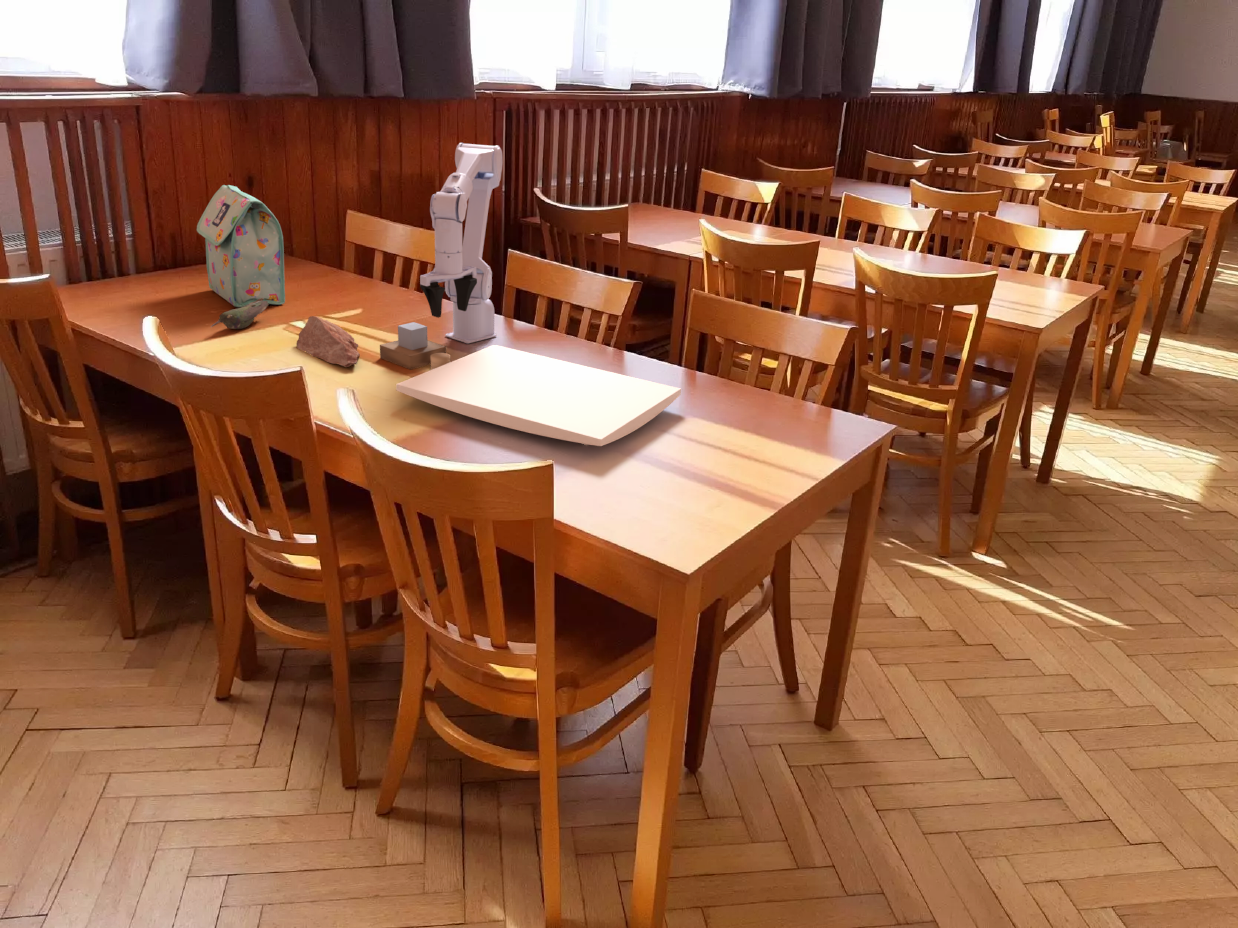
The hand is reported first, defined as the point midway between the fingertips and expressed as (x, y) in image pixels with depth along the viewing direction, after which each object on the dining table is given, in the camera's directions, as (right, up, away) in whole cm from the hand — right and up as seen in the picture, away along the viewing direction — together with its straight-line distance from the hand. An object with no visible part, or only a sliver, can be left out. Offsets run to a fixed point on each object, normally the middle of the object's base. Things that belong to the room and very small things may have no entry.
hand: (449, 313), depth 213 cm
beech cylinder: (0, -15, -9) cm, 18 cm away
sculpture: (-51, -1, +15) cm, 53 cm away
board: (+21, -22, -21) cm, 37 cm away
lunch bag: (-58, +10, +38) cm, 70 cm away
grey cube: (-8, -7, 0) cm, 11 cm away
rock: (-24, -9, +2) cm, 26 cm away
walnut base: (-8, -10, +1) cm, 13 cm away
